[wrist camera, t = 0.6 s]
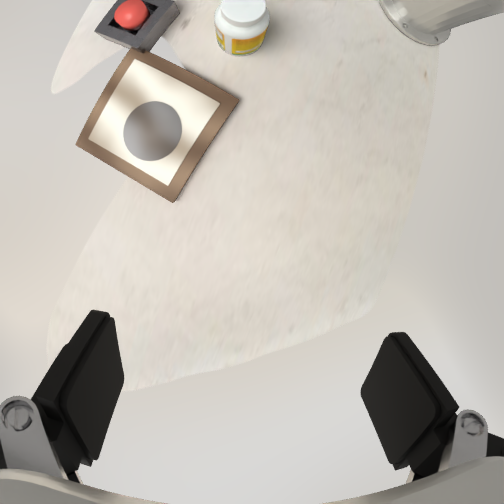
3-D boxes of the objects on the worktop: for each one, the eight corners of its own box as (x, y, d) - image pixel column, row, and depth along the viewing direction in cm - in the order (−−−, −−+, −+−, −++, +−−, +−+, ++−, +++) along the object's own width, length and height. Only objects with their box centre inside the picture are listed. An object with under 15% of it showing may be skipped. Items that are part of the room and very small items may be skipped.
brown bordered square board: (136, 47, 27) (132, 44, 25) (239, 101, 30) (239, 99, 29) (79, 144, 30) (74, 144, 29) (174, 201, 34) (172, 203, 33)
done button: (133, 3, 22) (127, -5, 20) (156, 11, 23) (151, 3, 21) (115, 26, 23) (108, 19, 21) (138, 35, 24) (131, 28, 22)
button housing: (137, -3, 24) (129, -14, 20) (179, 13, 25) (174, 1, 22) (105, 38, 25) (94, 31, 22) (146, 56, 27) (137, 48, 24)
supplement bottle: (208, 45, 27) (200, 13, 18) (232, 13, 26) (232, -25, 17) (248, 64, 29) (253, 37, 20) (271, 32, 27) (284, -2, 18)
